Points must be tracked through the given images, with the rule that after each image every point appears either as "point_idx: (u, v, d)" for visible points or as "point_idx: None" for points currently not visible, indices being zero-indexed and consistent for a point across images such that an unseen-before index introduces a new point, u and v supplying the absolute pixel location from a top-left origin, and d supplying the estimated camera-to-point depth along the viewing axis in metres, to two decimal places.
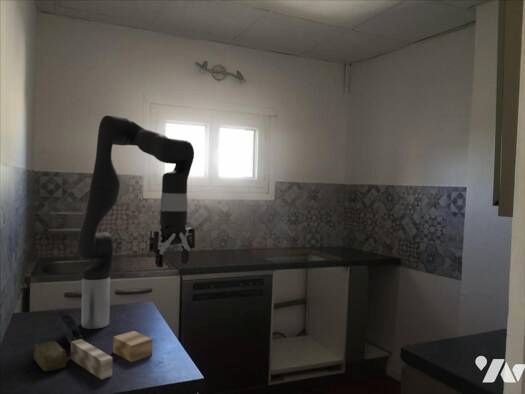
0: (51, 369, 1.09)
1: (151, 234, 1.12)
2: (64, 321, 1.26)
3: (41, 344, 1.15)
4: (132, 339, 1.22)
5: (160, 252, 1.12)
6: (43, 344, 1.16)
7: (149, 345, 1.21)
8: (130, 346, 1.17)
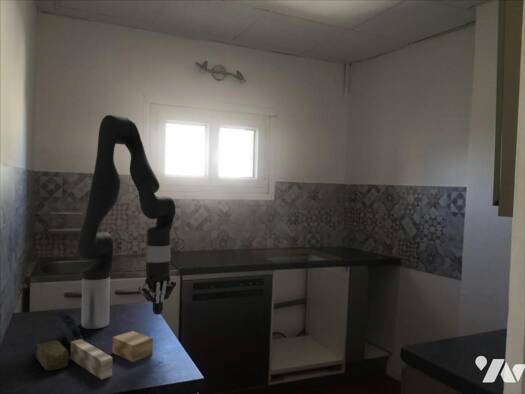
0: (53, 368, 1.10)
1: (141, 291, 1.24)
2: (64, 321, 1.26)
3: (43, 344, 1.16)
4: (133, 339, 1.22)
5: (157, 301, 1.27)
6: (46, 343, 1.16)
7: (150, 345, 1.22)
8: (131, 346, 1.17)
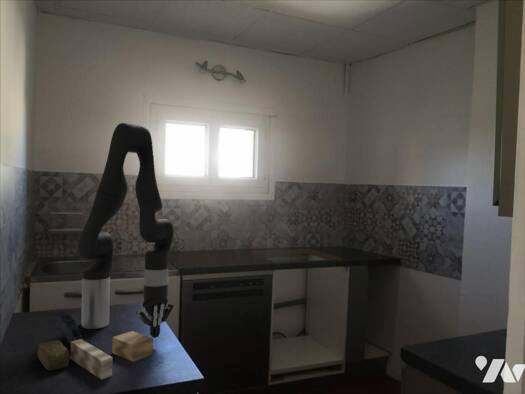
0: (54, 368, 1.10)
1: (138, 315, 1.24)
2: (64, 321, 1.26)
3: (45, 343, 1.16)
4: (133, 339, 1.22)
5: (154, 324, 1.27)
6: (47, 343, 1.17)
7: (150, 344, 1.22)
8: (132, 346, 1.17)
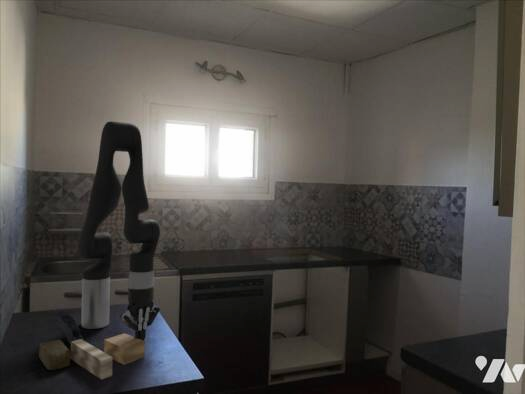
0: (55, 368, 1.10)
1: (122, 319, 1.20)
2: (64, 321, 1.26)
3: (46, 343, 1.16)
4: (124, 341, 1.20)
5: (139, 328, 1.23)
6: (48, 343, 1.17)
7: (142, 347, 1.20)
8: (123, 349, 1.15)
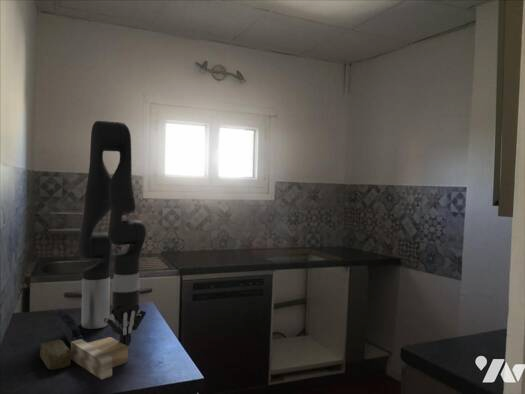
0: (55, 368, 1.10)
1: (106, 323, 1.16)
2: (64, 321, 1.26)
3: (47, 343, 1.17)
4: (107, 345, 1.16)
5: (124, 333, 1.19)
6: (49, 342, 1.17)
7: (124, 352, 1.16)
8: None
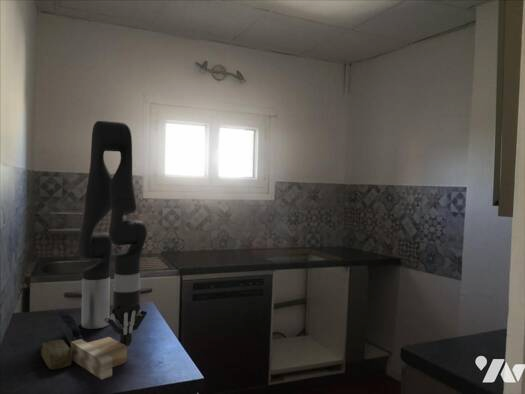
0: (56, 367, 1.11)
1: (107, 323, 1.17)
2: (64, 321, 1.26)
3: (48, 343, 1.17)
4: (106, 345, 1.16)
5: (124, 333, 1.19)
6: (50, 342, 1.17)
7: (123, 352, 1.16)
8: None
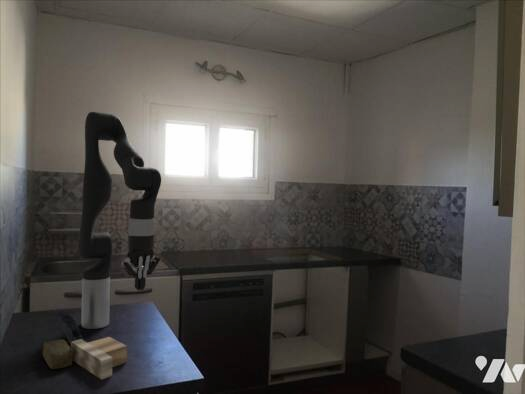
0: (57, 367, 1.11)
1: (122, 265, 1.19)
2: (64, 321, 1.26)
3: (50, 342, 1.17)
4: (106, 345, 1.16)
5: (139, 276, 1.22)
6: (52, 342, 1.18)
7: (123, 352, 1.16)
8: None
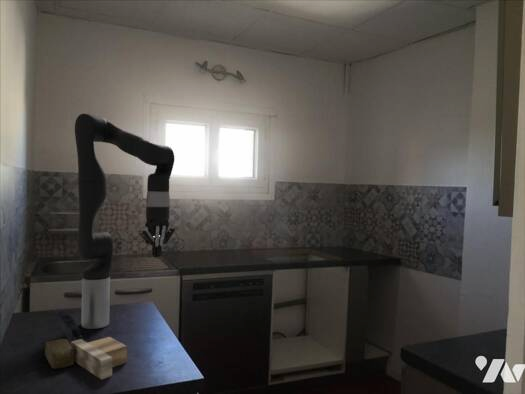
0: (59, 367, 1.11)
1: (141, 234, 1.31)
2: (64, 321, 1.26)
3: (52, 342, 1.18)
4: (106, 345, 1.16)
5: (156, 244, 1.33)
6: (54, 341, 1.18)
7: (123, 352, 1.16)
8: None
